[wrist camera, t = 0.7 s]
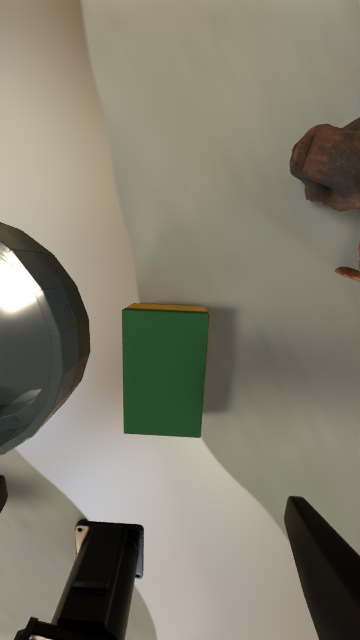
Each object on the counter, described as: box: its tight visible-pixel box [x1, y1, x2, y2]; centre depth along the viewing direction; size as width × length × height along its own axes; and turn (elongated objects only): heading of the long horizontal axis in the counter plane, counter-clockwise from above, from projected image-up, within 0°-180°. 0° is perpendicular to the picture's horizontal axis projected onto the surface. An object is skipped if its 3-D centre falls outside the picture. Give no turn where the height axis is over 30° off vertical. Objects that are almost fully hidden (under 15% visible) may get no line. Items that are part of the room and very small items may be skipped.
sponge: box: [122, 303, 209, 438], centre depth 16 cm, size 9×6×3 cm, turn 178°
